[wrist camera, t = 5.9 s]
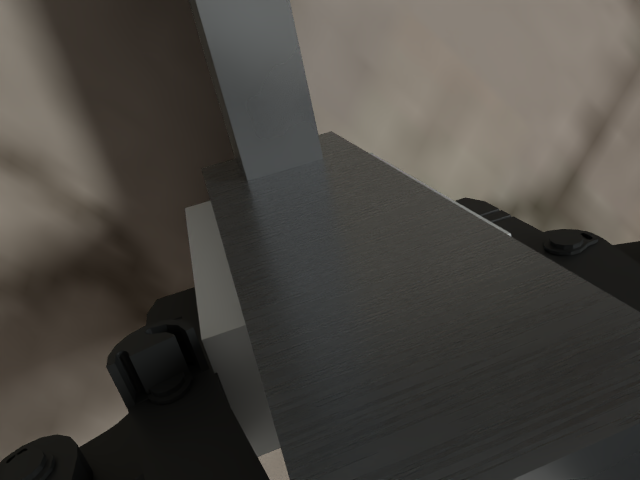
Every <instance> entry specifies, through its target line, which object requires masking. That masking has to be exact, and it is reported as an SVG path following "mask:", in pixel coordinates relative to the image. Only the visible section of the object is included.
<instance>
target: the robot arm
mask: <svg viewBox="0 0 640 480" xmlns="http://www.w3.org/2000/svg"><path fill="white" fill-rule="evenodd" d="M369 154H371V155H373V156H374V157H376V158H378V159H380V160H381V161H383V162H385V163H386V164H388V165H390V166H391V167H393V168H395V169H397V170H398V171H400V172H402V173H403V174H405V175H407V176H409V177H410V178H412V179H414V180H415V181H417V182H419V183H420V184H422V185H424V186H426V187H427V188H429V189H431V190H432V191H434V192H436V193H438V194H439V195H441V196H443V197H444V198H446V199H448V200H449V201H451V202H453V203H455V204H456V205H458V206H460V207H461V208H463V209H465V210H467V211H468V212H470V213H472V214H473V215H475V216H477V217H478V218H480V219H482V220H484V221H485V222H487V223H489V224H490V225H492V226H494V227H496V228H497V229H499V230H501V231H502V232H504V233H506V234H507V235H509V236H511V237H513V238H514V239H516V240H518V241H519V242H521V243H523V244H525V245H526V246H528V247H530V248H531V249H533V250H535V251H536V252H538V253H540V254H542V255H543V256H545V257H547V258H548V259H550V260H552V261H554V262H555V263H557V264H559V265H560V266H562V267H564V268H565V269H567V270H569V271H571V272H572V273H574V274H576V275H577V276H579V277H581V278H583V279H584V280H586V281H588V282H589V283H591V284H593V285H594V286H596V287H598V288H600V289H601V290H603V291H605V292H606V293H608V294H610V295H611V296H613V297H615V298H617V299H618V300H620V301H622V302H623V303H625V304H627V305H629V306H630V307H632V308H634V309H635V310H637V311H639V312H640V241H638V242H631V243H624V244H617V245H611V244H610V243H609V242H607V241H606V240H604V239H603V238H601V237H599V236H597V235H595V234H593V233H590V232H587V231H581V230H572V229H559V230H552V231H546V232H542V231H540V230H538V229H536V228H534V227H533V226H531V225H529V224H527V223H525V222H523V221H521V220H519V219H517V218H515V217H511V216H510V214H508V213H506V212H504V211H502V210H501V211H499V209H498V208H496V207H494V206H493V205H491V204H489V203H487V202H485V201H480V200H475V199H470V198H463V199H460V200H456V201H454V200H452V199H450V198H449V197H447V196H445V195H443V194H442V193H440V192H438V191H437V190H435V189H433V188H431V187H430V186H428V185H426V184H424V183H423V182H421V181H419V180H418V179H416V178H414V177H412V176H411V175H409V174H407V173H405V172H404V171H402V170H400V169H399V168H397V167H395V166H393V165H392V164H390V163H388V162H386V161H385V160H383V159H381V158H379V157H378V156H376V155H374V154H373V153H369ZM185 214H186V222H187V230H188V238H189V246H190V253H191V261H192V269H193V277H194V285H195V287H194V288H191V289H188V290H185V291H182V292H179V293H176V294H173V295H169V296H166V297H163V298H160V299H157V300H156V302H155V303H154V305H153V306H152V308H151V309H150V311H149V312H148V314H147V321H146V326H144V327H142V328H140V329H139V330H137V331H135V332H133V333H131V334H129V335H128V336H127V337H125V338H124V339H123V340H122V341H121V342H119V343H118V344H117V345H116V346H115V347H114V349H113V350H112V352H111V353H110V354H109V356H108V359H107V366H106V367H107V369H108V371H109V373H110V375H111V377H112V379H113V381H114V383H115V385H116V387H117V389H118V391H119V393H120V395H121V397H122V399H123V401H124V403H125V405H126V407H127V409H128V412H129V413H128V414H127V415H126V416H125V417H124V418H123V419H122V420H121V421H120V422H119V423H117V424H116V425H115V426H113V427H112V428H110V429H109V430H107V431H106V432H104V433H103V434H101V435H99V436H98V437H96V438H94V439H93V440H91V441H89V442H88V443H86V444H84V445H82V446H81V447H78V445H77V444H76V443H75V442H74V440H73V439H72V438H71V437H69V436H63V435H52V436H47V437H42V438H39V439H37V440H35V441H32V442H30V443H28V444H26V445H24V446H22V447H20V448H19V449H17V450H15V451H14V452H12V453H11V454H10V455H8V456H7V457H6V458H4V459H3V460H2V461H1V462H0V480H270V479H269V478H268V476H267V474H266V472H265V470H264V468H263V466H262V465H261V463H260V461H259V459H258V456H261V455H263V454H266V453H269V452H271V451H274V450H276V449H279V448H281V447H280V443H279V440H278V436H277V433H276V429H275V426H274V422H273V419H272V415H271V412H270V408H269V405H268V401H267V398H266V394H265V390H264V387H263V383H262V380H261V376H260V373H259V369H258V366H257V362H256V359H255V355H254V352H253V348H252V345H251V341H250V338H249V334H248V331H247V327H246V324H245V320H244V317H243V313H242V310H241V306H240V303H239V299H238V296H237V292H236V289H235V285H234V281H233V278H232V274H231V271H230V267H229V264H228V260H227V257H226V253H225V250H224V246H223V243H222V239H221V236H220V232H219V229H218V225H217V222H216V218H215V215H214V211H213V208H212V204H211V201H207V202H204V203H200V204H197V205H194V206H190V207H187V208H185Z"/></svg>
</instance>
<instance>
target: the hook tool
mask: <svg viewBox="0 0 640 480" xmlns="http://www.w3.org/2000/svg"><path fill="white" fill-rule="evenodd" d="M188 1H189V4H190V8H191V11H192V14H193V18H194V21H195V25H196V28H197V31H198V35H199V38H200V42H201V45H202V48H203V52H204V55H205V58H206V62H207V65H208V69H209V72H210V75H211V79H212V82H213V86H214V89H215V92H216V96H217V99H218V103H219V106H220V109H221V113H222V116H223V120H224V123H225V126H226V130H227V133H228V137H229V140H230V143H231V147H232V150H233V154H234V157H235V159H233V160H229V161H226V162H222V163H219V164H215V165H212V166H208V167H205V168H201V169H202V173H203V176H204V180H205V183H206V187H207V190H208V194H209V197H210V201H211V204H212V208H213V211H214V215H215V218H216V222H217V225H218V229H219V232H220V236H221V239H222V243H223V246H224V250H225V253H226V257H227V260H228V264H229V267H230V271H231V274H232V278H233V281H234V285H235V289H236V292H237V296H238V299H239V303H240V306H241V310H242V313H243V317H244V320H245V324H246V327H247V331H248V334H249V338H250V341H251V345H252V348H253V352H254V355H255V359H256V362H257V366H258V369H259V373H260V376H261V380H262V383H263V387H264V390H265V394H266V398H267V401H268V405H269V408H270V412H271V415H272V419H273V422H274V426H275V429H276V433H277V436H278V440H279V443H280V447H281V450H282V454H283V457H284V461H285V464H286V468H287V471H288V475H289V478H290V480H640V312H639V311H637V310H635V309H634V308H632V307H630V306H629V305H627V304H625V303H623V302H622V301H620V300H618V299H617V298H615V297H613V296H611V295H610V294H608V293H606V292H605V291H603V290H601V289H600V288H598V287H596V286H594V285H593V284H591V283H589V282H588V281H586V280H584V279H583V278H581V277H579V276H577V275H576V274H574V273H572V272H571V271H569V270H567V269H565V268H564V267H562V266H560V265H559V264H557V263H555V262H554V261H552V260H550V259H548V258H547V257H545V256H543V255H542V254H540V253H538V252H536V251H535V250H533V249H531V248H530V247H528V246H526V245H525V244H523V243H521V242H519V241H518V240H516V239H514V238H513V237H511V236H509V235H507V234H506V233H504V232H502V231H501V230H499V229H497V228H496V227H494V226H492V225H490V224H489V223H487V222H485V221H484V220H482V219H480V218H478V217H477V216H475V215H473V214H472V213H470V212H468V211H467V210H465V209H463V208H461V207H460V206H458V205H456V204H455V203H453V202H451V201H449V200H448V199H446V198H444V197H443V196H441V195H439V194H438V193H436V192H434V191H432V190H431V189H429V188H427V187H426V186H424V185H422V184H420V183H419V182H417V181H415V180H414V179H412V178H410V177H409V176H407V175H405V174H403V173H402V172H400V171H398V170H397V169H395V168H393V167H391V166H390V165H388V164H386V163H385V162H383V161H381V160H380V159H378V158H376V157H374V156H373V155H371V154H369V153H368V152H366V151H364V150H362V149H361V148H359V147H357V146H356V145H354V144H352V143H351V142H349V141H347V140H345V139H344V138H342V137H340V136H339V135H337V134H335V133H333V132H332V131H331V132H328V133H324V134H321V135H318V132H317V127H316V122H315V117H314V113H313V108H312V103H311V99H310V94H309V89H308V85H307V80H306V75H305V71H304V66H303V61H302V57H301V52H300V47H299V43H298V38H297V33H296V29H295V24H294V19H293V15H292V10H291V5H290V0H188Z"/></svg>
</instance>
